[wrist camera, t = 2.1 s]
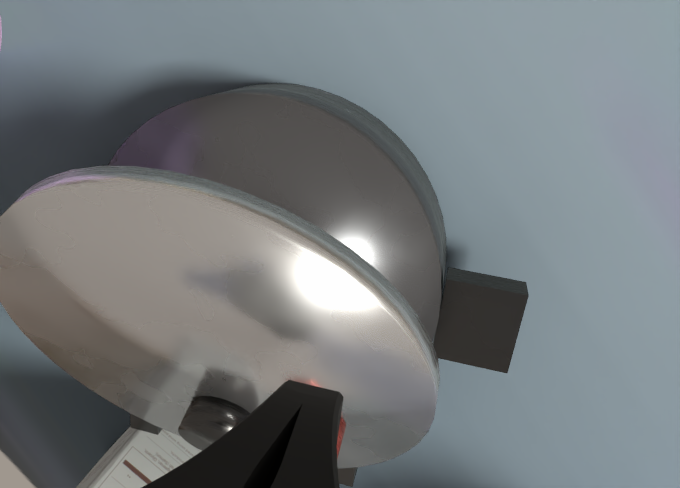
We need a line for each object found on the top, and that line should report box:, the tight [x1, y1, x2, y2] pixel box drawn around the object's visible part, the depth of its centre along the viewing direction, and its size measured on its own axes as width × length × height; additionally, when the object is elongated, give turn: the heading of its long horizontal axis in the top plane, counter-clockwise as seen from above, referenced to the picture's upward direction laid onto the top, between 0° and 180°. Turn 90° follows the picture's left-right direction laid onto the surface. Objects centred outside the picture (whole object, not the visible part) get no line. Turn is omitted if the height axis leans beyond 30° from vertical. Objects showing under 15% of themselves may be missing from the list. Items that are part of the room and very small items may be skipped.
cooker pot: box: [108, 83, 528, 487], centre depth 21 cm, size 14×18×4 cm
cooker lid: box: [0, 166, 440, 469], centre depth 17 cm, size 14×14×2 cm
